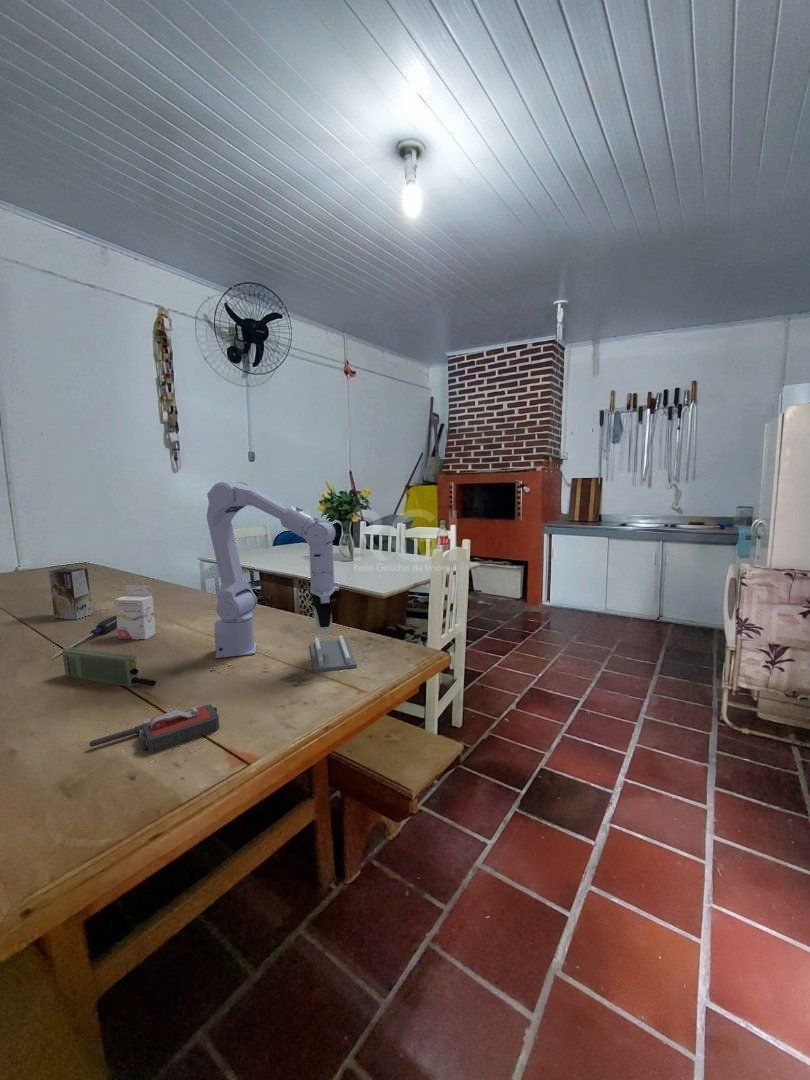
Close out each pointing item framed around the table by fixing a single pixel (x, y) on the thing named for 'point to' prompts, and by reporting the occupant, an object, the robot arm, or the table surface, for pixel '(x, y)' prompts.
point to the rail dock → (331, 655)
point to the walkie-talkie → (170, 728)
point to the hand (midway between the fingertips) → (324, 623)
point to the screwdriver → (97, 630)
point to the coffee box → (70, 593)
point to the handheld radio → (102, 667)
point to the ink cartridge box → (135, 613)
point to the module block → (322, 629)
